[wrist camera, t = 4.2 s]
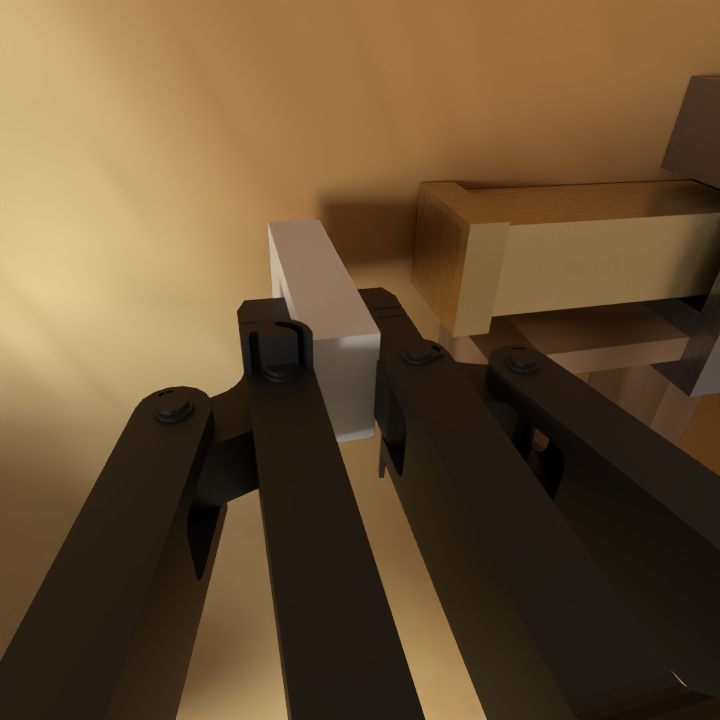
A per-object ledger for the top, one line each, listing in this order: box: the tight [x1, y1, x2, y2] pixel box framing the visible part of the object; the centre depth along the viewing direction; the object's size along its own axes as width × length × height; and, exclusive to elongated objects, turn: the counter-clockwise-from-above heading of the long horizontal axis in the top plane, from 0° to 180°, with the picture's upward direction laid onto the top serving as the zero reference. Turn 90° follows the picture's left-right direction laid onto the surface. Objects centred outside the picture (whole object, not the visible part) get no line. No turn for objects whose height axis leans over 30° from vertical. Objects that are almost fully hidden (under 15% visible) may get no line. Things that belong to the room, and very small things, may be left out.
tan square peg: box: [411, 180, 720, 337], centre depth 18 cm, size 11×4×4 cm, turn 88°
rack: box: [439, 301, 703, 448], centre depth 23 cm, size 10×8×4 cm
